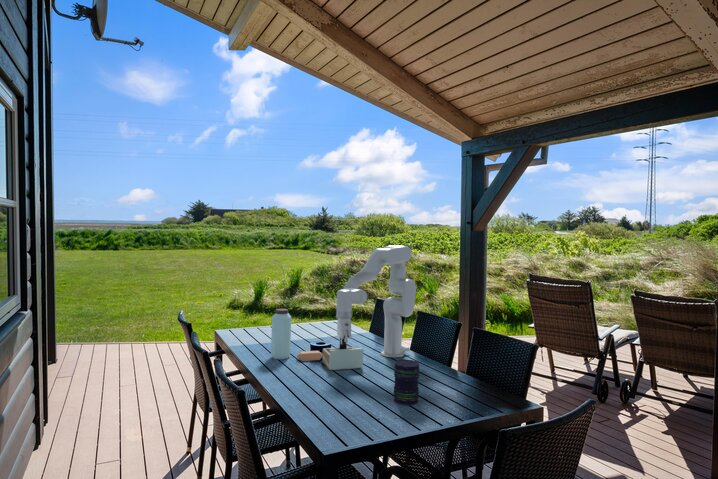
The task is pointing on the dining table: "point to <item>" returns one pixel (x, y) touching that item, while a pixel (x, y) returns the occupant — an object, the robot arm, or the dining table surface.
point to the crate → (327, 356)
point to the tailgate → (346, 358)
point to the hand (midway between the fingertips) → (342, 351)
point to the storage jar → (406, 382)
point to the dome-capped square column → (309, 355)
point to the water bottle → (281, 334)
